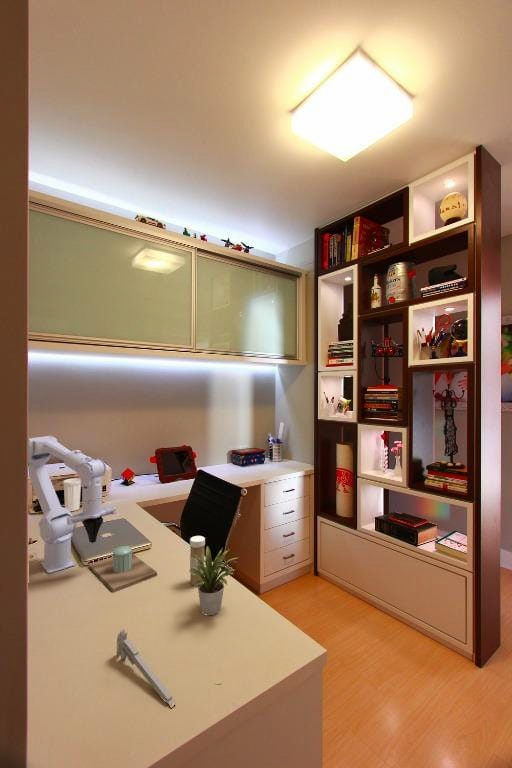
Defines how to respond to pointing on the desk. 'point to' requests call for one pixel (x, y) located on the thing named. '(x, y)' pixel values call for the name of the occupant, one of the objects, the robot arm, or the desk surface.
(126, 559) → the cap
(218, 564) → the house plant
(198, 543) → the sprinkles bottle
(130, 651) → the caliper
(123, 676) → the desk surface
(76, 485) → the cup
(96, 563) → the walnut board
